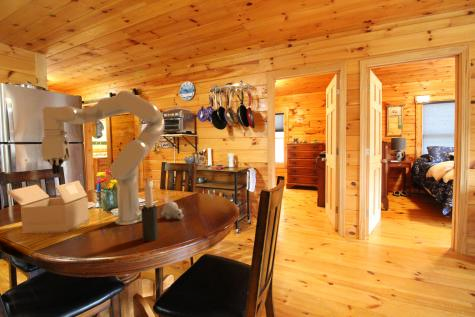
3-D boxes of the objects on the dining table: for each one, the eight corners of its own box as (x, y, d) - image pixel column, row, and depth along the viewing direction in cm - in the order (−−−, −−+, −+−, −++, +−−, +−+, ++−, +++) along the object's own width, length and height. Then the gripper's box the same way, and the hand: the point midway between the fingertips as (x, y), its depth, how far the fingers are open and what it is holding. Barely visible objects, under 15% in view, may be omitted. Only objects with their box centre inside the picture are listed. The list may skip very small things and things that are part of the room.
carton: (89, 219, 119) (88, 196, 118) (66, 232, 101) (64, 206, 101) (51, 221, 118) (49, 197, 117) (21, 234, 101) (19, 207, 100)
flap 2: (54, 186, 101) (56, 186, 101) (77, 180, 116) (79, 180, 116) (64, 203, 101) (65, 203, 101) (86, 195, 117) (87, 195, 117)
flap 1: (36, 184, 115) (36, 185, 115) (7, 191, 100) (6, 191, 100) (49, 196, 116) (48, 197, 116) (22, 205, 101) (21, 205, 101)
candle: (158, 235, 96) (156, 176, 95) (155, 241, 91) (152, 178, 90) (146, 236, 96) (143, 176, 94) (142, 241, 91) (138, 178, 89)
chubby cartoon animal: (175, 227, 114) (180, 212, 112) (158, 215, 118) (162, 200, 116) (185, 222, 120) (189, 208, 118) (168, 211, 125) (172, 197, 123)
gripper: (76, 134, 111) (78, 172, 112) (44, 134, 110) (46, 172, 111) (65, 133, 103) (68, 174, 104) (30, 133, 103) (33, 174, 104)
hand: (57, 173), depth 108 cm, fingers closed
